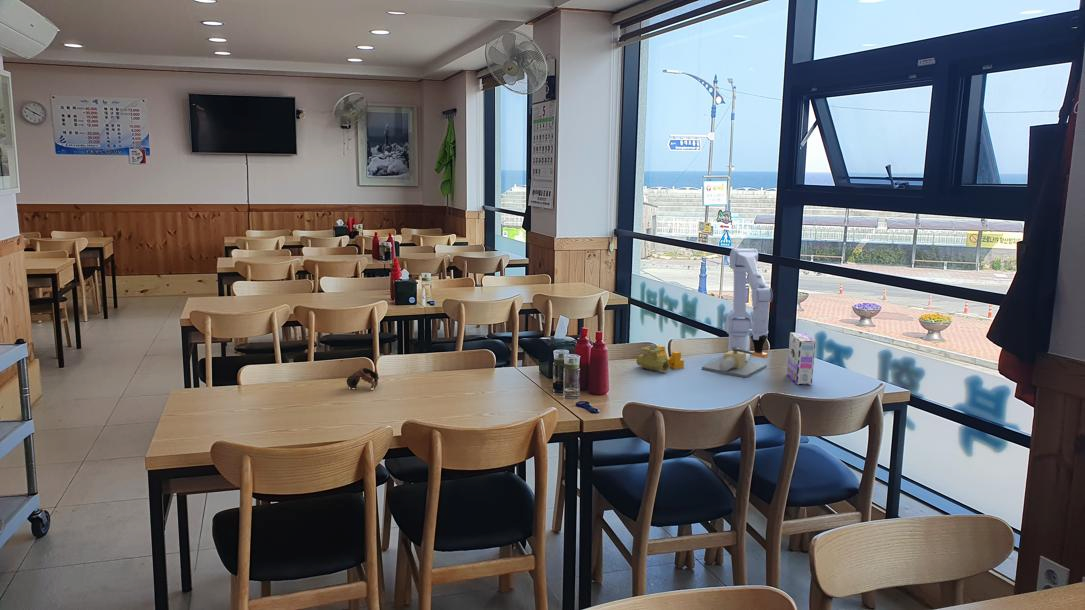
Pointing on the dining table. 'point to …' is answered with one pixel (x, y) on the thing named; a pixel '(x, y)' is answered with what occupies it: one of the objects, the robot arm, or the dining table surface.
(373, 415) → the dining table surface
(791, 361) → the candy box
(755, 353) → the valve lever
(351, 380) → the brown arched figurine
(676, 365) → the pipe clamp
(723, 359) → the valve base
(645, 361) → the ball valve
